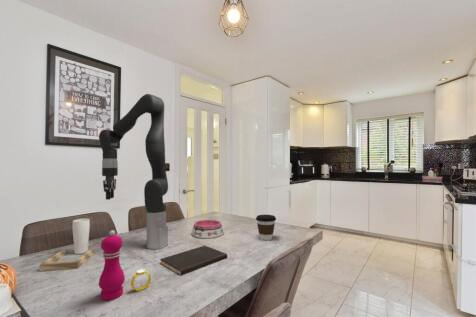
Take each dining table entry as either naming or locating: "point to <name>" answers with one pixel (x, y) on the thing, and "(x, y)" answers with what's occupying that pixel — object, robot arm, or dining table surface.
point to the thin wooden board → (51, 264)
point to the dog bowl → (207, 229)
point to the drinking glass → (81, 235)
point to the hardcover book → (193, 259)
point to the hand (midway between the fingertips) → (109, 198)
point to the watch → (140, 274)
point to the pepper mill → (111, 268)
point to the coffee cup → (266, 226)
